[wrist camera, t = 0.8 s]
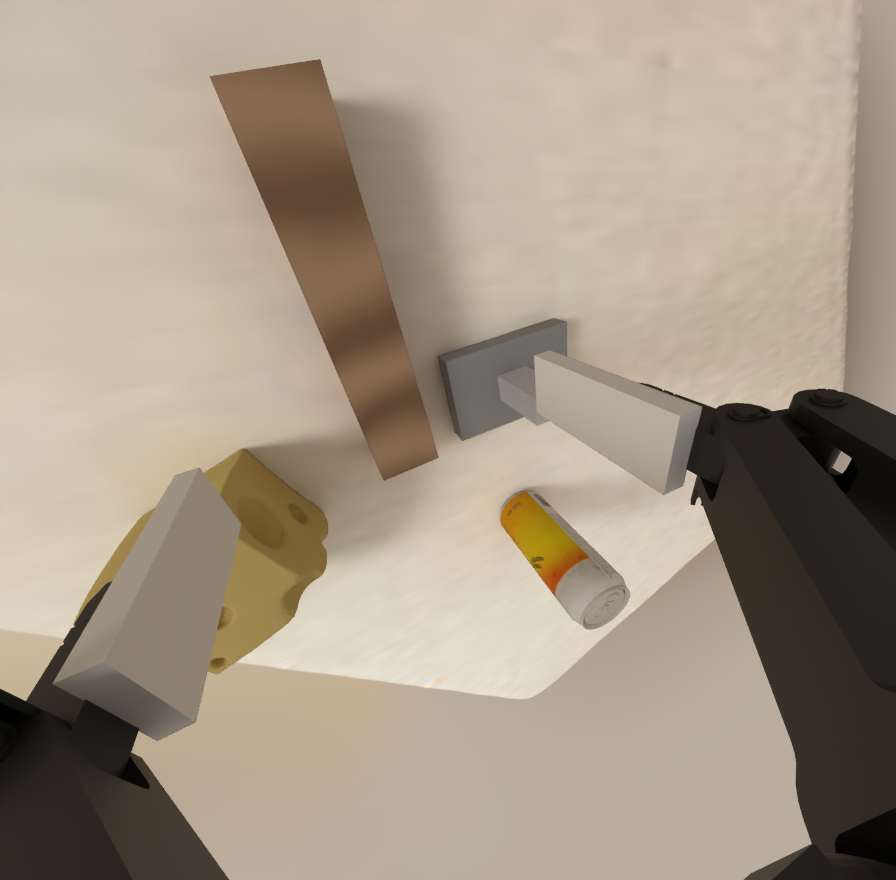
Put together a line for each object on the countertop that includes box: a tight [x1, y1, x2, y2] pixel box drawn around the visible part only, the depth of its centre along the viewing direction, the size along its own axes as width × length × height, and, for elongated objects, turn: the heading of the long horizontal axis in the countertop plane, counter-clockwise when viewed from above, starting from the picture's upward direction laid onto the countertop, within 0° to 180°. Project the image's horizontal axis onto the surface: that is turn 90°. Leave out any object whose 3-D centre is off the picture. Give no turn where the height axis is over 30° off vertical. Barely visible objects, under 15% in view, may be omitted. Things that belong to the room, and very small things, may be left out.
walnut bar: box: [210, 59, 439, 480], centre depth 24 cm, size 24×5×5 cm, turn 14°
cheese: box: [73, 449, 328, 674], centre depth 25 cm, size 10×11×10 cm
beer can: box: [500, 491, 630, 630], centre depth 36 cm, size 6×6×15 cm
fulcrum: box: [438, 318, 567, 441], centre depth 30 cm, size 8×12×8 cm, turn 102°
